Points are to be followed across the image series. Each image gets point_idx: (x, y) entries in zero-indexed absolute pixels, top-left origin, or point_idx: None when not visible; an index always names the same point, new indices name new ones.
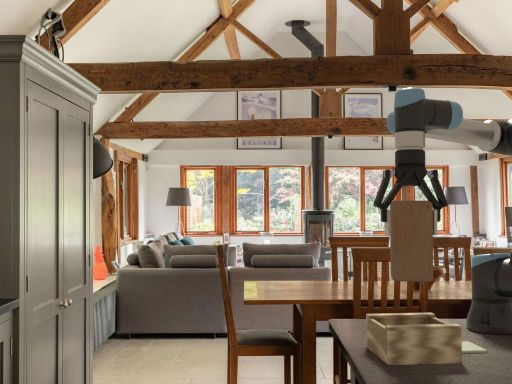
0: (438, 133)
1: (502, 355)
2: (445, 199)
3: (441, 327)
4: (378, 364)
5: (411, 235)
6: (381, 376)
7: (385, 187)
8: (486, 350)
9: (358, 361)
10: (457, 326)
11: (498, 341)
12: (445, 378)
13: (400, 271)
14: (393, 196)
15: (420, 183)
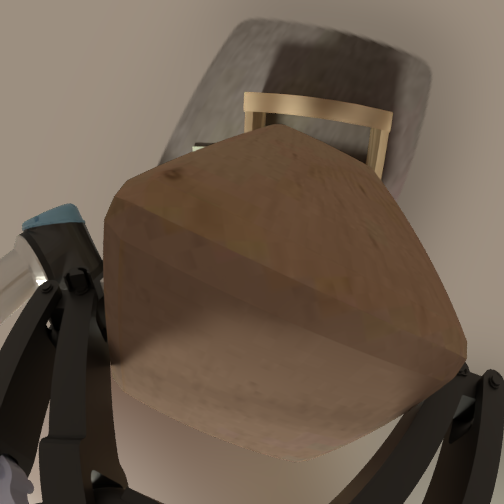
0: None
1: (181, 128)
2: (29, 306)
3: (285, 94)
4: (392, 121)
5: (332, 175)
6: (412, 67)
7: (473, 501)
8: (193, 146)
9: (412, 147)
10: (252, 92)
11: None
12: (326, 32)
13: (361, 164)
14: (413, 441)
15: (90, 489)
